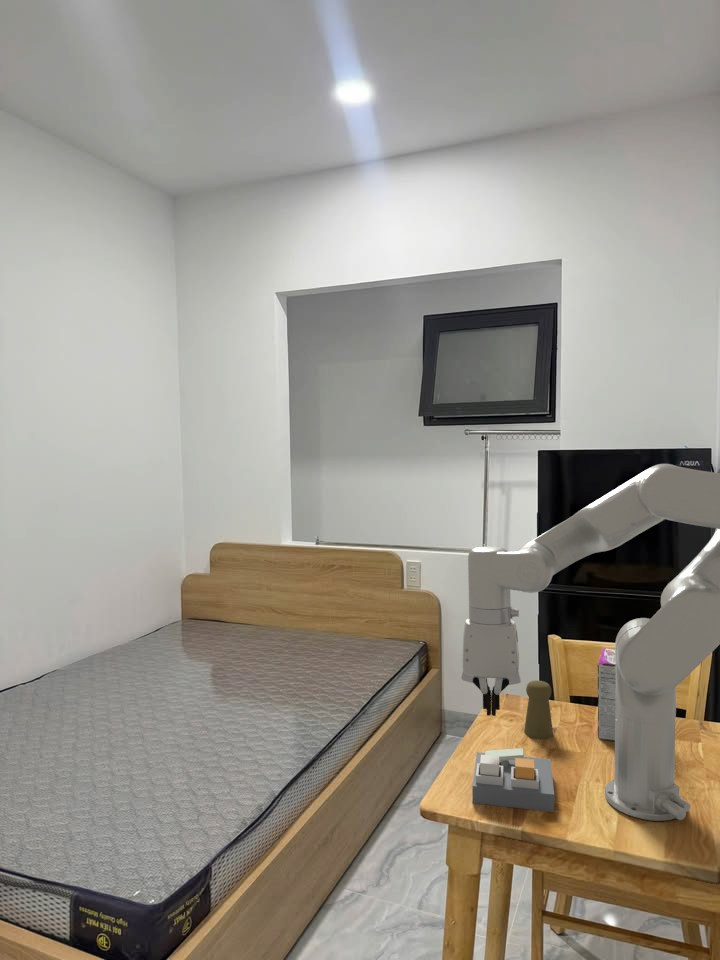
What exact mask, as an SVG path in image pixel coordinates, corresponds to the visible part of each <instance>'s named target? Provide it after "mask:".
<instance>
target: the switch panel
mask: <svg viewBox="0 0 720 960" xmlns="http://www.w3.org/2000/svg"><path fill="white" fill-rule="evenodd" d="M481 755H485V752H476V756H475V764H474V772H473V779H472V787H471V788H472V795H471V796H472V804H480V805H488V806H497V807H504V808H505V807H506V808H516V809H524V810H534V811H543V812H550V813H551V812H553V813H555V788H554V777H553V770H552V769H553V768H552V761H551V758H542V757H541V758H540V757H532V756H524V759H533V760H534V779H524V778H515V760H506V761H499V776H494V775H484V774H480V759H481Z"/></svg>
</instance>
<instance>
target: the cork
mask: <svg viewBox="0 0 720 960" xmlns="http://www.w3.org/2000/svg"><path fill="white" fill-rule="evenodd" d="M525 691H526V694H527V696H528V702H527V709H526V717H525V722H524V730H523V732H524V735H526V736H527V737H530V738H531V739H538V740H547V739H550V738H552V737H553V736H554V730H553V722H552V715H551V706H550V700H549V699H550V697H551V696H552V688H551V685H550V684H549V683H548V682H546V681H543V680H531V681H529V682H528V683H527V685H526V688H525Z"/></svg>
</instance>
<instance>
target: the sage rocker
mask: <svg viewBox="0 0 720 960" xmlns="http://www.w3.org/2000/svg"><path fill="white" fill-rule="evenodd" d="M484 753H485V755H490V756H499V761H506V760H515V758H522V759H524V757H525V750H524V748H523V747H518V748H507V749H494V750H493V749H492V750H485V752H484Z"/></svg>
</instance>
